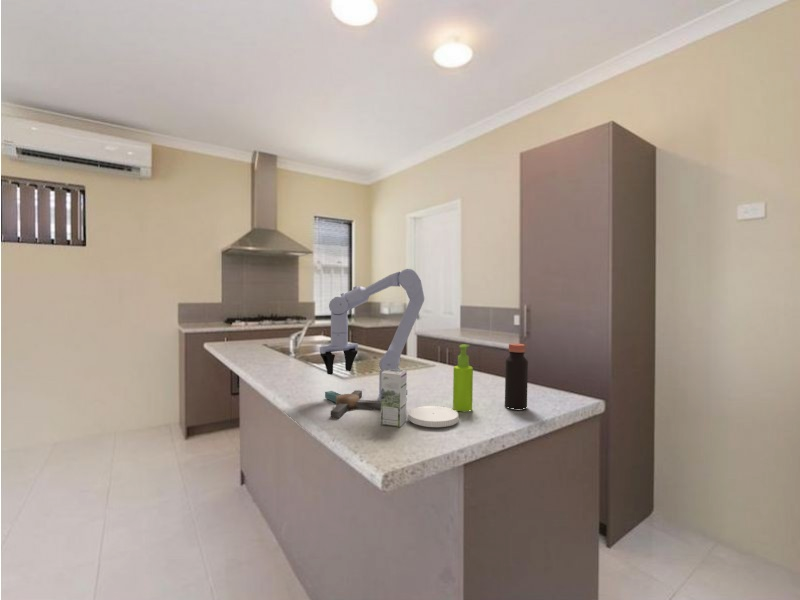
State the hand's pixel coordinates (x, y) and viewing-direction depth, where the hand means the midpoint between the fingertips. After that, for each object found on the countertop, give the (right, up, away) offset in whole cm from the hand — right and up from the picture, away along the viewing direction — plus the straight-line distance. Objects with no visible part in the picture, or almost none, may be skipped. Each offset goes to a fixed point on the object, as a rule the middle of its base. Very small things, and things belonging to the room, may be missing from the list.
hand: (339, 372), depth 134 cm
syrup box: (+19, -10, -25) cm, 33 cm away
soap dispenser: (+40, -9, -11) cm, 43 cm away
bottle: (+57, -10, -9) cm, 59 cm away
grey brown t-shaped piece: (+8, -9, -11) cm, 16 cm away
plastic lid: (+30, -10, -23) cm, 39 cm away
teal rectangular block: (-1, -8, -4) cm, 9 cm away
